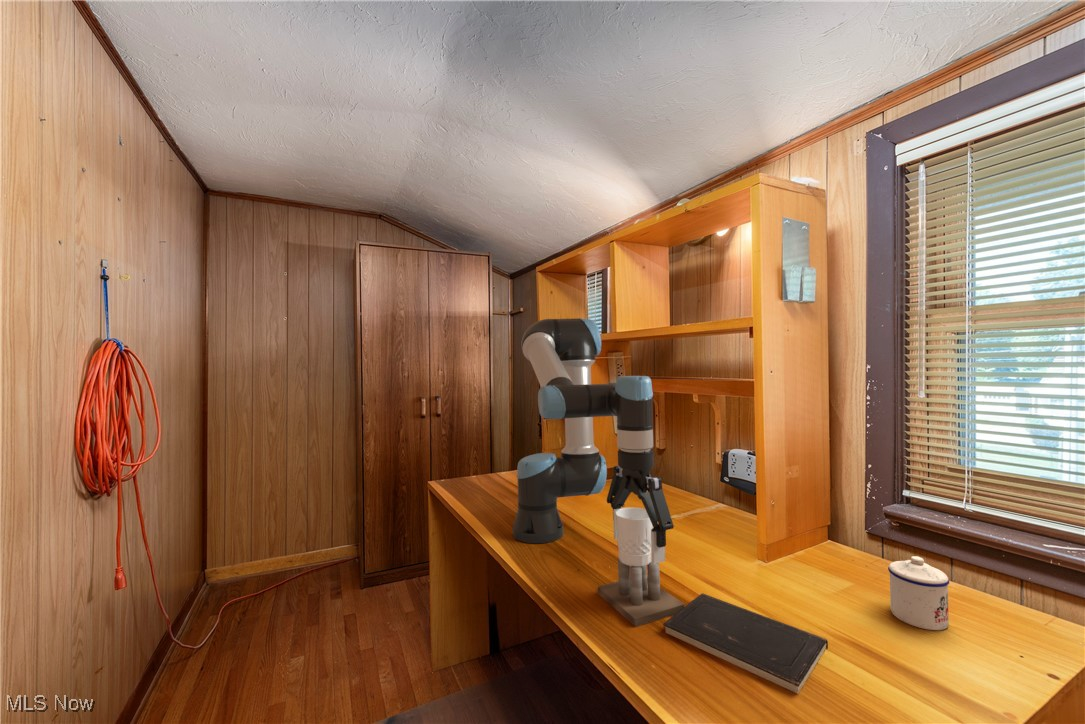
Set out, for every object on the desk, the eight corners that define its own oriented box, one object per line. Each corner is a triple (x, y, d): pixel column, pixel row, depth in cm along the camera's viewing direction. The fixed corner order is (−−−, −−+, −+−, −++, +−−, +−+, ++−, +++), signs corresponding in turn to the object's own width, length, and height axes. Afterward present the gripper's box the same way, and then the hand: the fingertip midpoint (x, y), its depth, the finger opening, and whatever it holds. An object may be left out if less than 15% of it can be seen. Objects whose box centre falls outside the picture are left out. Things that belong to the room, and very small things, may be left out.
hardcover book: (798, 699, 68) (798, 684, 68) (663, 635, 84) (663, 623, 84) (828, 650, 79) (827, 637, 79) (703, 602, 95) (703, 591, 95)
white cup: (654, 569, 92) (653, 520, 92) (615, 566, 93) (614, 518, 93) (653, 553, 99) (652, 508, 99) (617, 551, 101) (616, 506, 101)
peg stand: (597, 593, 99) (596, 554, 99) (642, 581, 104) (641, 544, 104) (635, 626, 86) (634, 582, 86) (684, 611, 91) (683, 569, 91)
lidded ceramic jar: (949, 638, 81) (948, 573, 81) (886, 619, 87) (884, 559, 87) (951, 610, 89) (950, 551, 89) (893, 595, 96) (892, 540, 96)
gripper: (690, 457, 85) (693, 569, 85) (617, 438, 108) (619, 527, 108) (658, 461, 82) (661, 577, 82) (590, 441, 105) (592, 532, 105)
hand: (637, 549), depth 95 cm, fingers open, 13 cm apart
